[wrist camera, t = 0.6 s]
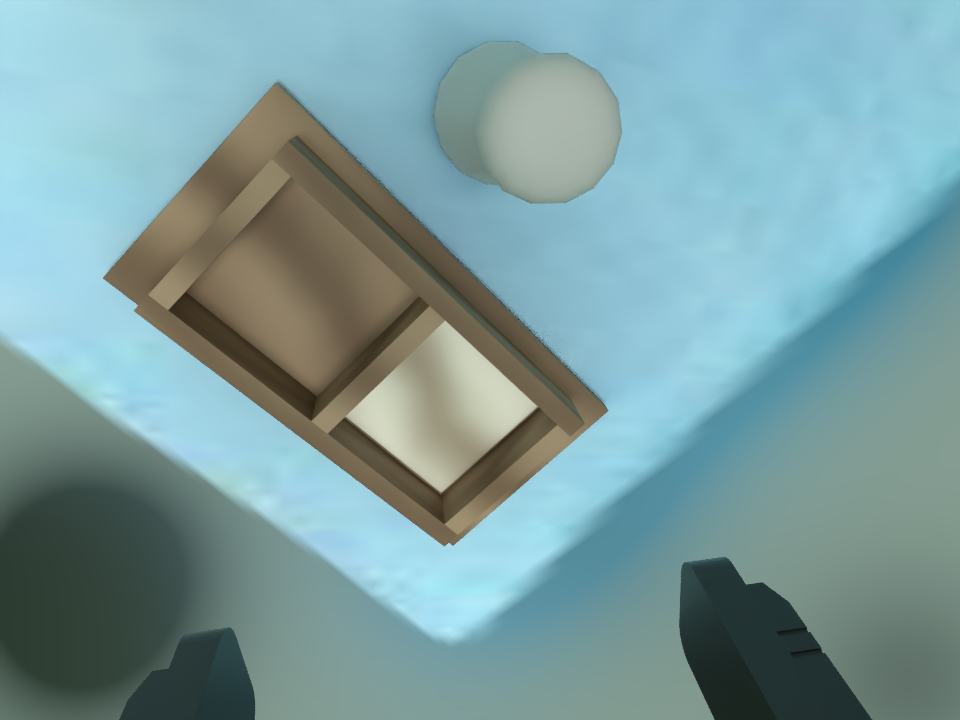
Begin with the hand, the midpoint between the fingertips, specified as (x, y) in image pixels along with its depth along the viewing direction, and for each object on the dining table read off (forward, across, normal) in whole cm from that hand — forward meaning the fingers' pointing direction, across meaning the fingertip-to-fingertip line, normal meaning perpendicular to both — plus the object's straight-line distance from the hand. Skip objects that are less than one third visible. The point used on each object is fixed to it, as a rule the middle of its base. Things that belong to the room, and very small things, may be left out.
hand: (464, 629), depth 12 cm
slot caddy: (+23, +3, +4) cm, 24 cm away
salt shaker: (+24, -4, -7) cm, 25 cm away
